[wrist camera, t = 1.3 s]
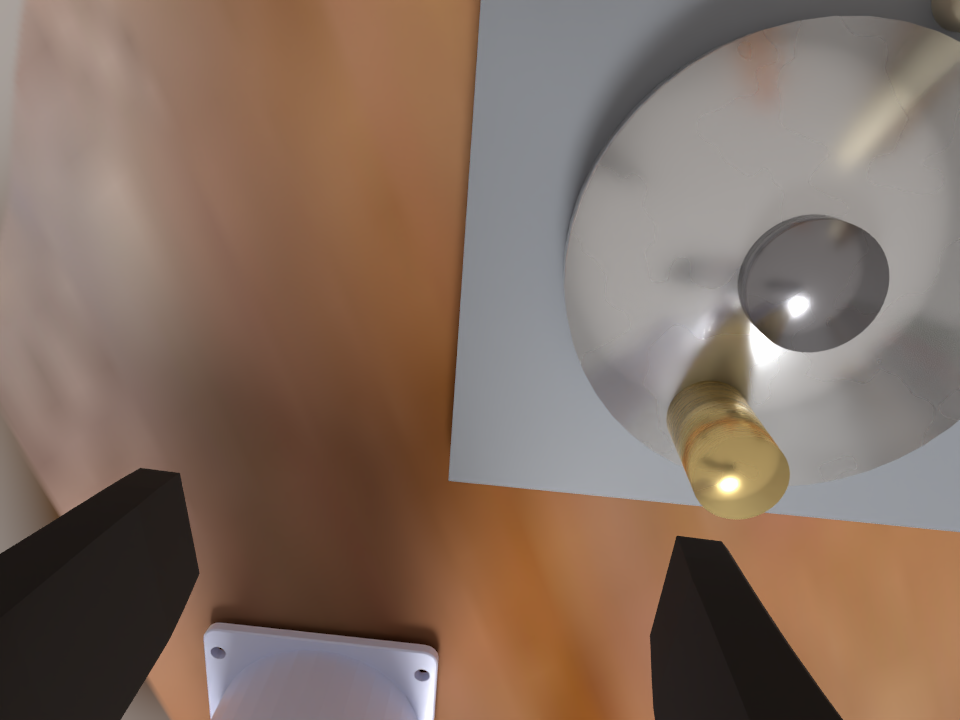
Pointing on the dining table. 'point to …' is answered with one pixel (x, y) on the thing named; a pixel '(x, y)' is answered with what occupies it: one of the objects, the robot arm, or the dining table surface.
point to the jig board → (542, 238)
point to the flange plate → (778, 258)
